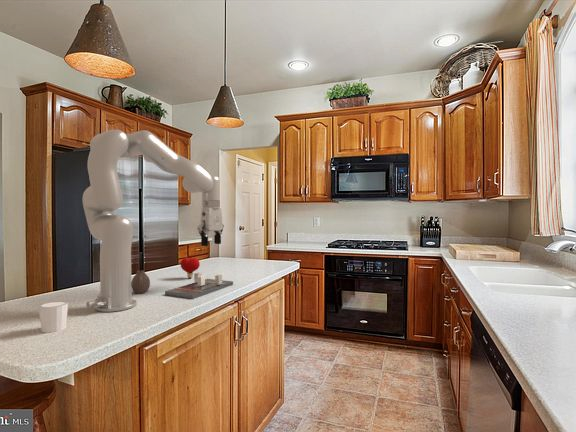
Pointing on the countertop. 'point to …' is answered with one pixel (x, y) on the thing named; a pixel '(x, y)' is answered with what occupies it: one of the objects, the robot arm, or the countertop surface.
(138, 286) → the vase
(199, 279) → the handle
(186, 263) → the light bulb
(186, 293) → the switch panel
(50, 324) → the white cup
